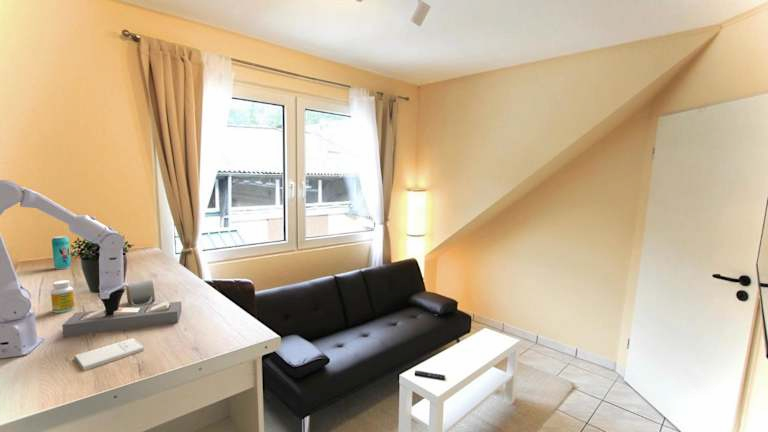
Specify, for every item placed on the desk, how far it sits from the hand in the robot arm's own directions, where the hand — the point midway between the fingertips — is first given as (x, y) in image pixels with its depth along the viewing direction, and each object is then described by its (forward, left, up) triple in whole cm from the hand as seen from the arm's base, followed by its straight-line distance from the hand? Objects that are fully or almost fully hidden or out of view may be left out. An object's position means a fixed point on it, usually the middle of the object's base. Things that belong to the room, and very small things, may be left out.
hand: (112, 314), depth 105 cm
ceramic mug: (+18, -4, -4) cm, 19 cm away
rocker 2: (0, -4, 0) cm, 4 cm away
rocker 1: (0, +4, 0) cm, 4 cm away
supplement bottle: (+19, +18, -4) cm, 27 cm away
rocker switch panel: (0, -4, -4) cm, 5 cm away
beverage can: (+79, +39, -4) cm, 88 cm away
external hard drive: (-20, -4, -4) cm, 21 cm away
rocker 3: (0, -12, 0) cm, 12 cm away
